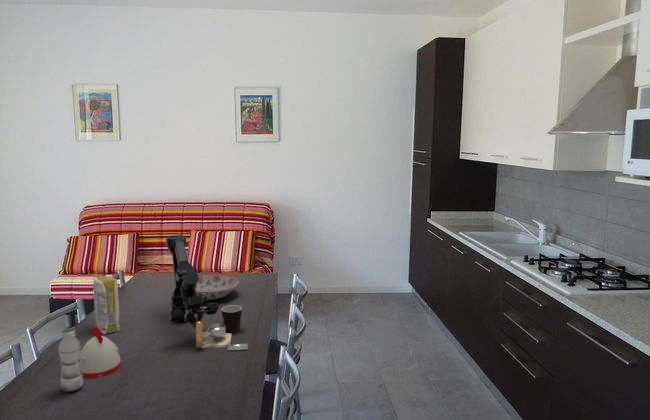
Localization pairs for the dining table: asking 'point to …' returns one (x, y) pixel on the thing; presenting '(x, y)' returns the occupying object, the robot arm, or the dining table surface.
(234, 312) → the coffee mug
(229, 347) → the loose steel rod
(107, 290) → the juice carton
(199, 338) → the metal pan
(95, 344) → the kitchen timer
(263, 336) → the dining table surface
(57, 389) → the dining table surface
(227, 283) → the ceramic bowl
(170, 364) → the dining table surface
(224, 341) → the square beige tile
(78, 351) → the plastic bottle
